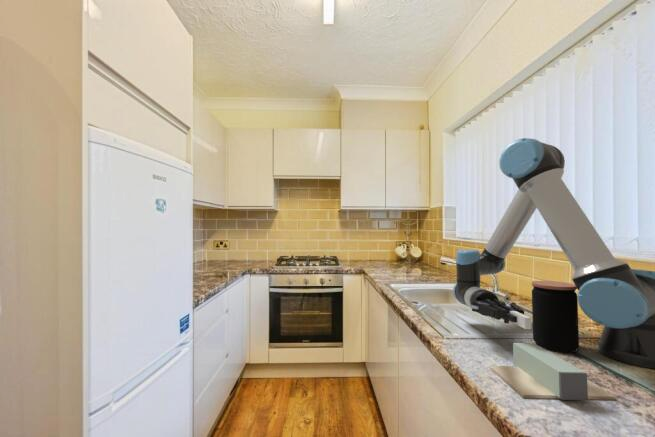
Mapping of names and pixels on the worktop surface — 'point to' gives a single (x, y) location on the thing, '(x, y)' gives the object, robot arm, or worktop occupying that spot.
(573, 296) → the coffee jar
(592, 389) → the birch board
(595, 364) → the worktop surface
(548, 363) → the sage block
